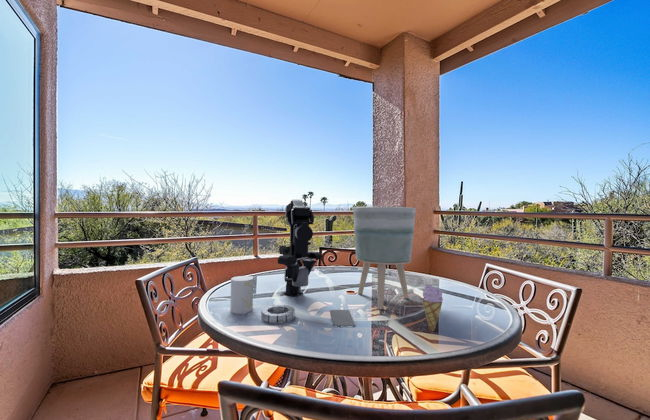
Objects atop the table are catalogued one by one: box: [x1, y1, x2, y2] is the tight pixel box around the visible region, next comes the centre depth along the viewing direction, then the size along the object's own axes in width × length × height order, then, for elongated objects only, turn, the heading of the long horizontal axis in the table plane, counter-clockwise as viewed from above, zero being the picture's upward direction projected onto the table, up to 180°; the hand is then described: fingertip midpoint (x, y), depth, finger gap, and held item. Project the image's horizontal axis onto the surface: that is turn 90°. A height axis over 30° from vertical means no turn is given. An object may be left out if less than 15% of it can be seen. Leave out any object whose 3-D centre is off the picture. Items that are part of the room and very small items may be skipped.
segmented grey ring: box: [260, 304, 296, 324], centre depth 102 cm, size 12×12×2 cm
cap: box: [292, 265, 309, 288], centre depth 108 cm, size 6×6×7 cm
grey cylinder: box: [230, 275, 254, 315], centre depth 109 cm, size 8×8×12 cm
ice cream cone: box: [421, 284, 444, 332], centre depth 93 cm, size 7×6×15 cm
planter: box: [352, 206, 417, 310], centre depth 124 cm, size 26×26×40 cm
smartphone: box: [329, 309, 356, 328], centre depth 102 cm, size 8×1×15 cm
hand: (300, 280), depth 108 cm, fingers closed on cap, 6 cm apart
